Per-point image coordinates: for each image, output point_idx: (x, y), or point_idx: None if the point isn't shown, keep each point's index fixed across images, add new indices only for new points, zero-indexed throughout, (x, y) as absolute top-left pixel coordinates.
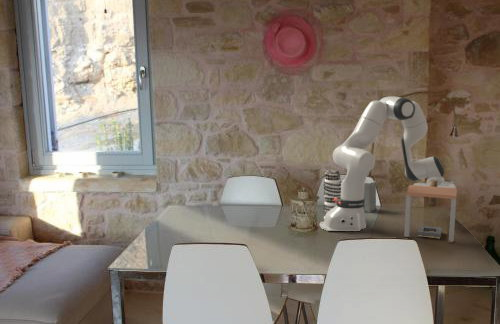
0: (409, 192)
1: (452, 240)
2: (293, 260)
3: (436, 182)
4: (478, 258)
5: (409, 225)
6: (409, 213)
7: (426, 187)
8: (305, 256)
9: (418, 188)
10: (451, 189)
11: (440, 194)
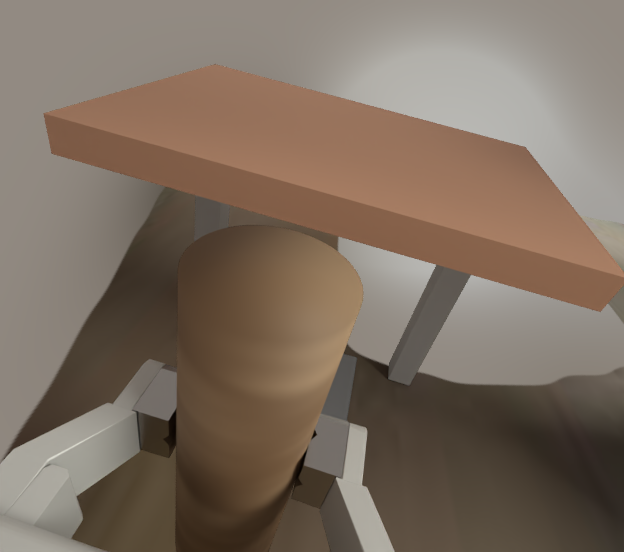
0: (502, 143)
1: None
2: (619, 249)
3: (229, 236)
4: (186, 208)
5: (410, 324)
6: (437, 266)
7: (400, 183)
8: (615, 261)
9: (471, 176)
10: (152, 110)
11: (306, 89)
